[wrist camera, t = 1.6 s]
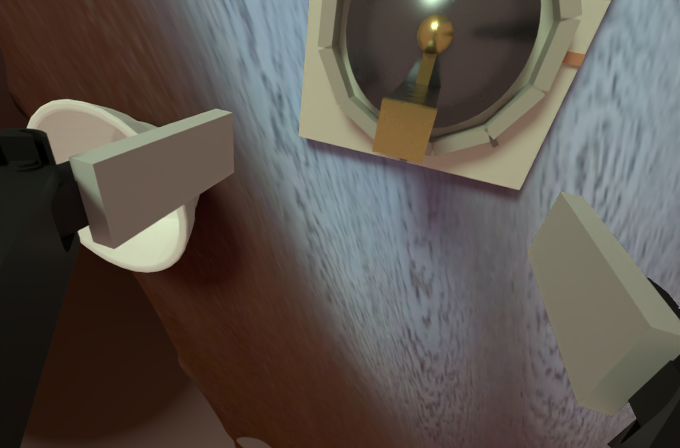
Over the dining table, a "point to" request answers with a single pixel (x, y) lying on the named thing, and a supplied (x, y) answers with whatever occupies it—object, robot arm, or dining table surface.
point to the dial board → (466, 137)
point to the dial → (435, 62)
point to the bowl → (98, 130)
